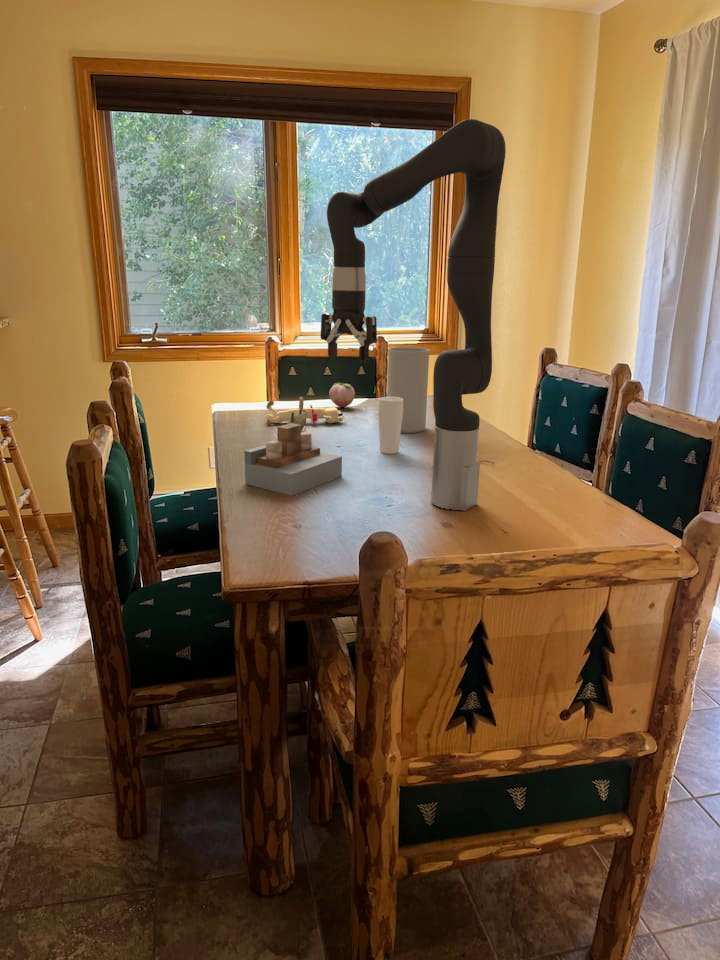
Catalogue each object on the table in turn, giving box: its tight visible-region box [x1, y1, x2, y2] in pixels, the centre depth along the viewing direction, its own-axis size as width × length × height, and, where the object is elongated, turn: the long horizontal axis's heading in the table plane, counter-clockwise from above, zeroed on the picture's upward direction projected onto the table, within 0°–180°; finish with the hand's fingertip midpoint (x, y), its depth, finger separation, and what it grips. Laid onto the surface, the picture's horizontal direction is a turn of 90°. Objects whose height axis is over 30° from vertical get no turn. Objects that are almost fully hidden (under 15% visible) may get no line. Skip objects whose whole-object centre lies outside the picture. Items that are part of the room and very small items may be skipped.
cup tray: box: [257, 423, 321, 468], centre depth 162 cm, size 16×6×8 cm, turn 145°
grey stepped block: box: [244, 444, 343, 497], centre depth 163 cm, size 14×19×8 cm
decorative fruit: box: [328, 380, 356, 408], centre depth 246 cm, size 9×8×10 cm
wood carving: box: [287, 396, 307, 432], centre depth 192 cm, size 9×35×11 cm, turn 177°
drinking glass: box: [377, 396, 403, 455], centre depth 188 cm, size 7×7×15 cm
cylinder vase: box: [386, 346, 430, 434], centre depth 214 cm, size 12×12×25 cm
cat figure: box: [266, 399, 345, 426], centre depth 222 cm, size 10×9×25 cm
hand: (347, 360), depth 159 cm, fingers open, 8 cm apart
